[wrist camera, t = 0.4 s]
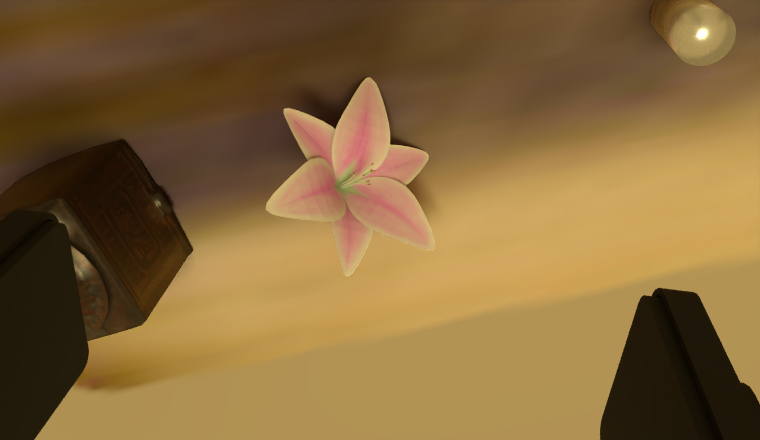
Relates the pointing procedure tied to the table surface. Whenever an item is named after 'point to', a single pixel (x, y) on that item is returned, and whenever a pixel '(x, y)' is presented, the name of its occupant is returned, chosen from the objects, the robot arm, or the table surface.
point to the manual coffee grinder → (108, 232)
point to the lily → (355, 179)
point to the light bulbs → (694, 29)
